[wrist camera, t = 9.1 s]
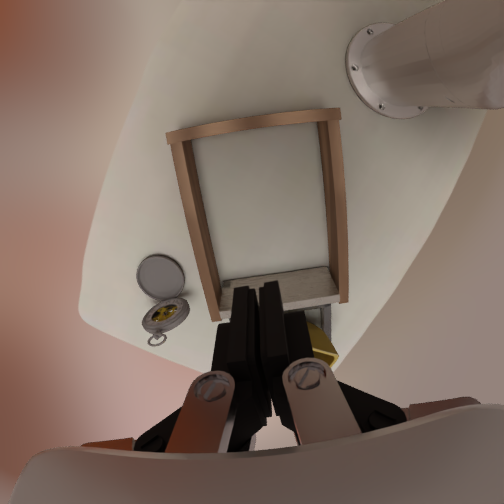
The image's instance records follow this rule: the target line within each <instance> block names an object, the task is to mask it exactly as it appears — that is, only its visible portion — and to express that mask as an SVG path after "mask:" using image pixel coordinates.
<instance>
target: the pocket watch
mask: <svg viewBox="0 0 504 504" xmlns="http://www.w3.org/2000/svg"><path fill="white" fill-rule="evenodd" d="M136 278H137V282H138V285H139V287H140V288H141V289H142V291H143V292H144V293H145V294H146V295H148V296H149V297H151V298H153V299H156V300H161V301H163V302H161V303H158V304H157V305H155V306H154V307H152V308H151V309H150V310H149V311H148V312H147V313H146V315H145V316H144V318H143V320H142V325H143V327H144V329H145V330H146V331H147V332H149V333H151V334H153V336H152V337H150V338H149V340H148V344H149V345H150V346H159V345H161V344H163V343H164V342H165V341H166V339H167V337H166V335H165V334H162V333H164V332H167V331H170V330H172V329H174V328H175V327H177V326H178V325H180V324H181V323H182V322H183V321H184V320H185V319H186V318H187V316H188V314H189V311H190V308H189V304H188V302H187V300H185V299H183V298H177V296H178V295H179V294H180V293H181V292H182V289H183V287H184V274H183V272H182V270H181V268H180V267H179V266H178V264H177V263H176V262H174V261H173V260H171V259H169V258H167V257H164V256H151V257H148V258H147V259H145V260H143V261H142V263H141V264H140V265H139V267H138V269H137V274H136ZM171 310H173V311H172V312H171V313H170V312H169V311H171ZM174 310H176V311H174ZM156 320H157V322H156ZM161 336H164V337H165V338H164V340H163V341H162V342H161V343H159V344H156V345H154V344H151V343H150V340H151V339H152V338H153V337H154V338H155V339H156V340H158V339H159V338H160V337H161Z"/></svg>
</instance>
